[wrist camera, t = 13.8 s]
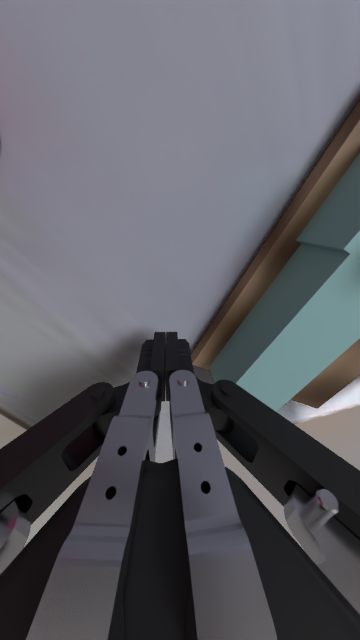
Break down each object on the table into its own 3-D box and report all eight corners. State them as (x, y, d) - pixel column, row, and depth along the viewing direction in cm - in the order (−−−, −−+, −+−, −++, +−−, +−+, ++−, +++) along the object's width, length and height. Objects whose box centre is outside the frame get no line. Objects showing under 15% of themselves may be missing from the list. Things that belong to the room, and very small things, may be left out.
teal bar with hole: (255, 382, 17) (274, 418, 14) (204, 364, 16) (213, 400, 13) (435, 192, 10) (548, 182, 7) (375, 131, 9) (483, 85, 6)
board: (381, 67, 9) (410, 46, 8) (516, 226, 13) (547, 227, 12) (190, 355, 17) (191, 364, 16) (309, 398, 20) (317, 408, 19)
